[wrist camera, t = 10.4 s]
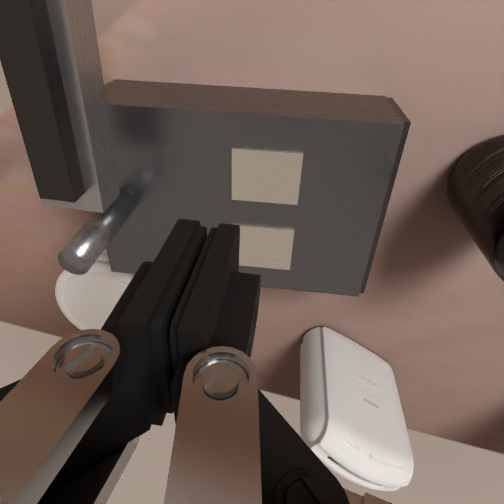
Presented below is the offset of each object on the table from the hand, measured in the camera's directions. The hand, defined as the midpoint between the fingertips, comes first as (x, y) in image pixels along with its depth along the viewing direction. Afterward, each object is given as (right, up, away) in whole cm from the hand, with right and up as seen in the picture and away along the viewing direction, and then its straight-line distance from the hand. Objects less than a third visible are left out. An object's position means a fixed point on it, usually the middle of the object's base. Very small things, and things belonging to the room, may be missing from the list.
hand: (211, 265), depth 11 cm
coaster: (-12, -3, +27) cm, 29 cm away
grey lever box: (+1, +6, +18) cm, 19 cm away
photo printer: (+11, -10, +28) cm, 32 cm away
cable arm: (-7, +9, +5) cm, 12 cm away
